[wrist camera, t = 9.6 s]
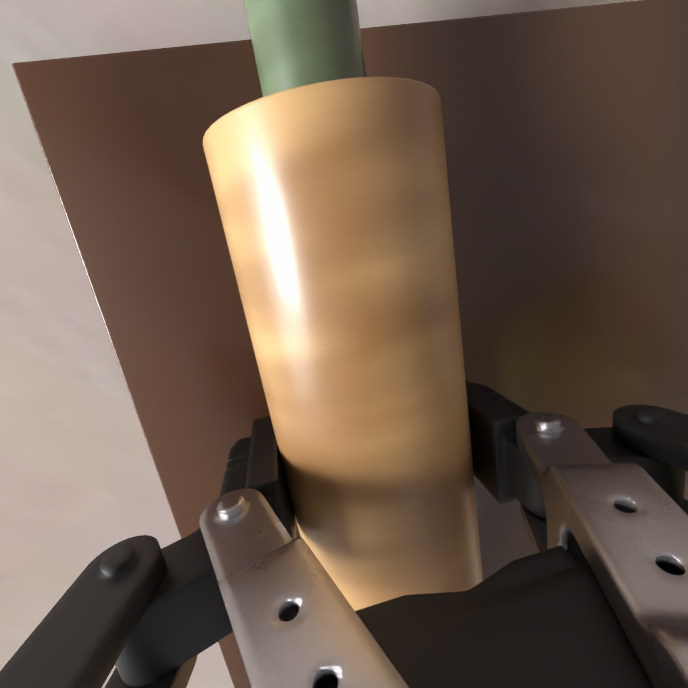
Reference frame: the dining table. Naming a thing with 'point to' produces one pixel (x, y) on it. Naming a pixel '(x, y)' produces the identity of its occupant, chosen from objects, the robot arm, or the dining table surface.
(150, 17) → the dining table surface
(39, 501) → the dining table surface
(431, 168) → the rolling pin
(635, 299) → the pastry board
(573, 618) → the robot arm
